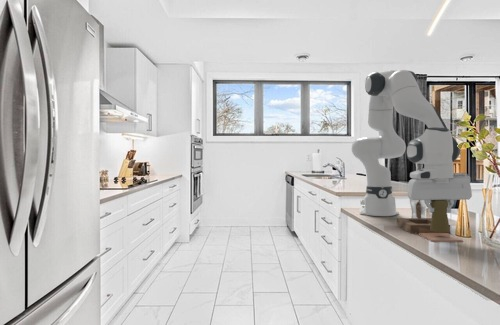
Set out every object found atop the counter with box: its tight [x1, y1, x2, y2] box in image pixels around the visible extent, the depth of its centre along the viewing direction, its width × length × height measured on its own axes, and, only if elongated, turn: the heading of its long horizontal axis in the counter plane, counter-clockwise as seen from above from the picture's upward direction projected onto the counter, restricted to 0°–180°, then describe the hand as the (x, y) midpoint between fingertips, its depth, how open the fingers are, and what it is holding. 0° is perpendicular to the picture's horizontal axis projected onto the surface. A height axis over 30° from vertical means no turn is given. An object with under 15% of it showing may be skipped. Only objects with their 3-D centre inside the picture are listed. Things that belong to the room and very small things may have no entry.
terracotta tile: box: [418, 233, 464, 243], centre depth 112 cm, size 10×10×1 cm
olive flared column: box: [430, 200, 451, 233], centre depth 111 cm, size 6×6×11 cm
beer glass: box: [409, 199, 427, 218], centre depth 140 cm, size 7×7×15 cm
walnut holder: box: [396, 217, 451, 234], centre depth 125 cm, size 14×14×3 cm
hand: (439, 212), depth 111 cm, fingers closed on olive flared column, 4 cm apart
